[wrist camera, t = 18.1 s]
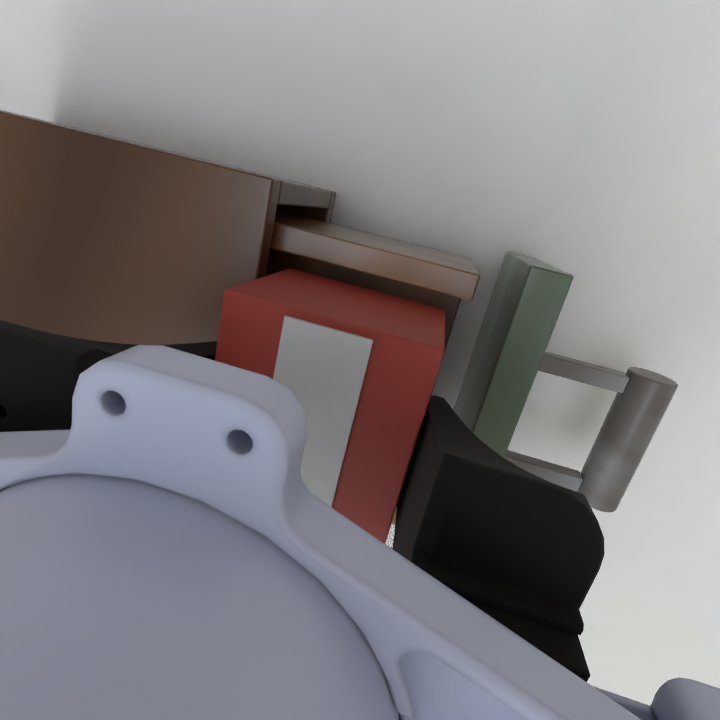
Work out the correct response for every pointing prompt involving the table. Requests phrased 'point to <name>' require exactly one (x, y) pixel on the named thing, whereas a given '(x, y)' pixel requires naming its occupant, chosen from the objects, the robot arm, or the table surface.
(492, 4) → the table surface
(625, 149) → the table surface
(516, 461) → the drawer
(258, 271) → the cabinet
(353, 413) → the foil carton
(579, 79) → the table surface
